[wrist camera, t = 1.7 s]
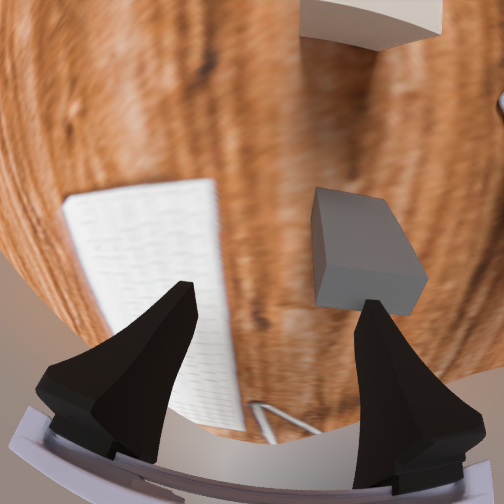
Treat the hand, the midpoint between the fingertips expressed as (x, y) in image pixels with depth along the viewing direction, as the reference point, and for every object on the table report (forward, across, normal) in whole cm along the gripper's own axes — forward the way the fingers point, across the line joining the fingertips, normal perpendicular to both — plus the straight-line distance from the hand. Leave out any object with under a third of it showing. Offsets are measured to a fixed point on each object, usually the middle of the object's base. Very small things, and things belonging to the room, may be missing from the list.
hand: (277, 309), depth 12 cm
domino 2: (+10, -4, 0) cm, 11 cm away
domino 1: (+10, -3, -13) cm, 17 cm away
